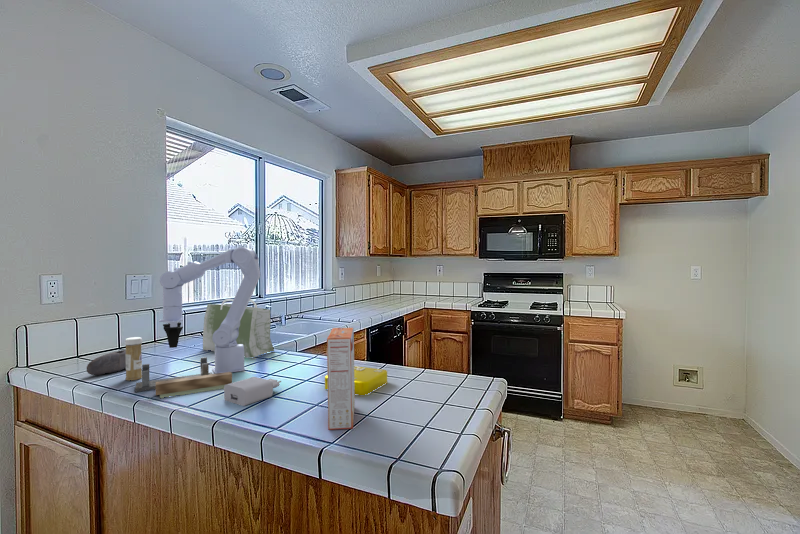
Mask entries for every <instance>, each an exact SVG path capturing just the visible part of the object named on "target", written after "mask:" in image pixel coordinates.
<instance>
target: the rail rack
mask: <svg viewBox="0 0 800 534" xmlns="http://www.w3.org/2000/svg"><path fill="white" fill-rule="evenodd" d="M209 364H210V363H209V362H208V357H207V356H203V357H200V373H198V374H197V373H196V374H190V375H182V376H176V377H168V378H160V379H154V380H153V379H151V380H150V363H145V364H143V363H142V378H141V381H138V382H136V383H135V388H134V389H135V393H137V392H138V393H139V392H145V391H146V390H147V391H151V389H154V390H156V382H160V381H167V380H174V379H182V378H189V377H196V376H203V375H210V374H213V372H209V369H210V368H209V367H210V365H209ZM147 391H146V392H147Z"/></svg>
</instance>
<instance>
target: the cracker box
mask: <svg viewBox="0 0 800 534" xmlns="http://www.w3.org/2000/svg"><path fill="white" fill-rule="evenodd" d="M354 335H355V334H354V327H333V328H332V329H331V331H330V332H329V335H328V336H327V338H326V359H327V361H326V367H327V368H326V370H327V371H326V373H327V374H326V375H327V379H328V391H327V414H328V415H327V417H328V419H327V429H328V430H329V431H331V430H332V431H334V430H335V431H336V430H348V429H349V430H350V429H351V430H352V429H354V420H355V419H354V418H355V404H356V403H355V401H356V400H355V398H356V395H355V389H354V366H355V340H354V337H355V336H354Z"/></svg>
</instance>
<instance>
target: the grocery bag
mask: <svg viewBox="0 0 800 534" xmlns="http://www.w3.org/2000/svg"><path fill="white" fill-rule="evenodd" d="M233 300H234V298H225V299H224V300H223V301H222V302H221V303H220V304H219V303H218V304H217V303H216V304H215V303H207V306H206V309H205V313H204V317H203V318H204V319H203V330H202V351H208V350H211V351H210V352H215V344H214V342H213V339H212V336H213V333H214V332H215V331H216V330H217V329H218V328H219V327H220V325H221V323H222V322H223V321H224V319H225V318H226V316H227V313H228V311H229V309H230V307H231V305H232V303H227V302H229V301H230V302H233ZM250 302H251V303H252V304H253V306H254V307H253V306H247V307H246V309H245V312H244V314H243V316H242V318H241V321H240V327H239V335H238V337H237V339H236V342H237V344H243V346H244V356H245V357H244V358H248V357H254V358H256V357H255V356H258V355H261V354H264V353H267V352H270V351H275V349H274V346H273V343H272V339H271V309H268V308H262V307H258V305H257V303H256V302H255V301H254V299H252V298H250V300H249V303H250ZM258 357H259V356H258Z"/></svg>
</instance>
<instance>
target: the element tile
mask: <svg viewBox="0 0 800 534" xmlns="http://www.w3.org/2000/svg"><path fill="white" fill-rule="evenodd" d="M386 382H387V383H388V370H387V369H381V368H374V367H365V366H359V365H354V389H355V394H359V395H365V394H368V393H370V392H372V391H373V390H375V389H377V388H378V387H380V386H382V385H383V384H385V383H386ZM325 389H328V379H327V374H326V375H325V376H324V390H325Z"/></svg>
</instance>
